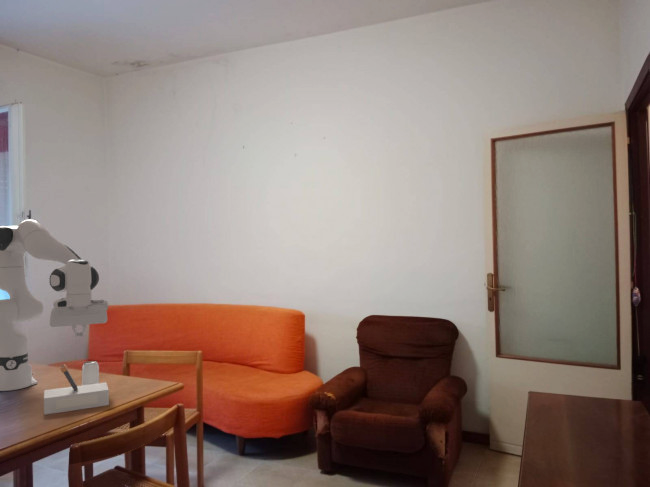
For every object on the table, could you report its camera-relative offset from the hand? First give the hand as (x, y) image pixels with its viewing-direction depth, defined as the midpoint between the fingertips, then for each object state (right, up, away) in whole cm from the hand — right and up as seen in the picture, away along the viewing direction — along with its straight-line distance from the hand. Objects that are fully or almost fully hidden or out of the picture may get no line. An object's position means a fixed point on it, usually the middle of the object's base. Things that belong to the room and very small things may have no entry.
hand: (79, 336), depth 193 cm
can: (-5, -27, +19) cm, 33 cm away
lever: (-1, -21, 0) cm, 21 cm away
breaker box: (-1, -27, -1) cm, 27 cm away
